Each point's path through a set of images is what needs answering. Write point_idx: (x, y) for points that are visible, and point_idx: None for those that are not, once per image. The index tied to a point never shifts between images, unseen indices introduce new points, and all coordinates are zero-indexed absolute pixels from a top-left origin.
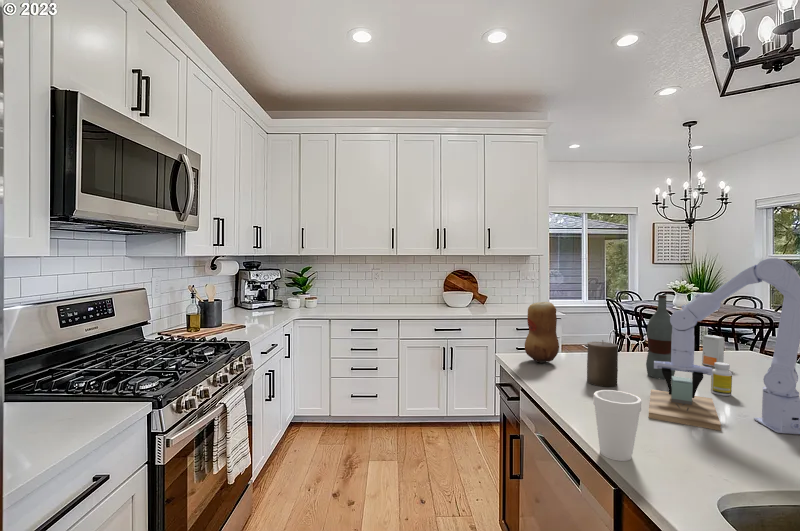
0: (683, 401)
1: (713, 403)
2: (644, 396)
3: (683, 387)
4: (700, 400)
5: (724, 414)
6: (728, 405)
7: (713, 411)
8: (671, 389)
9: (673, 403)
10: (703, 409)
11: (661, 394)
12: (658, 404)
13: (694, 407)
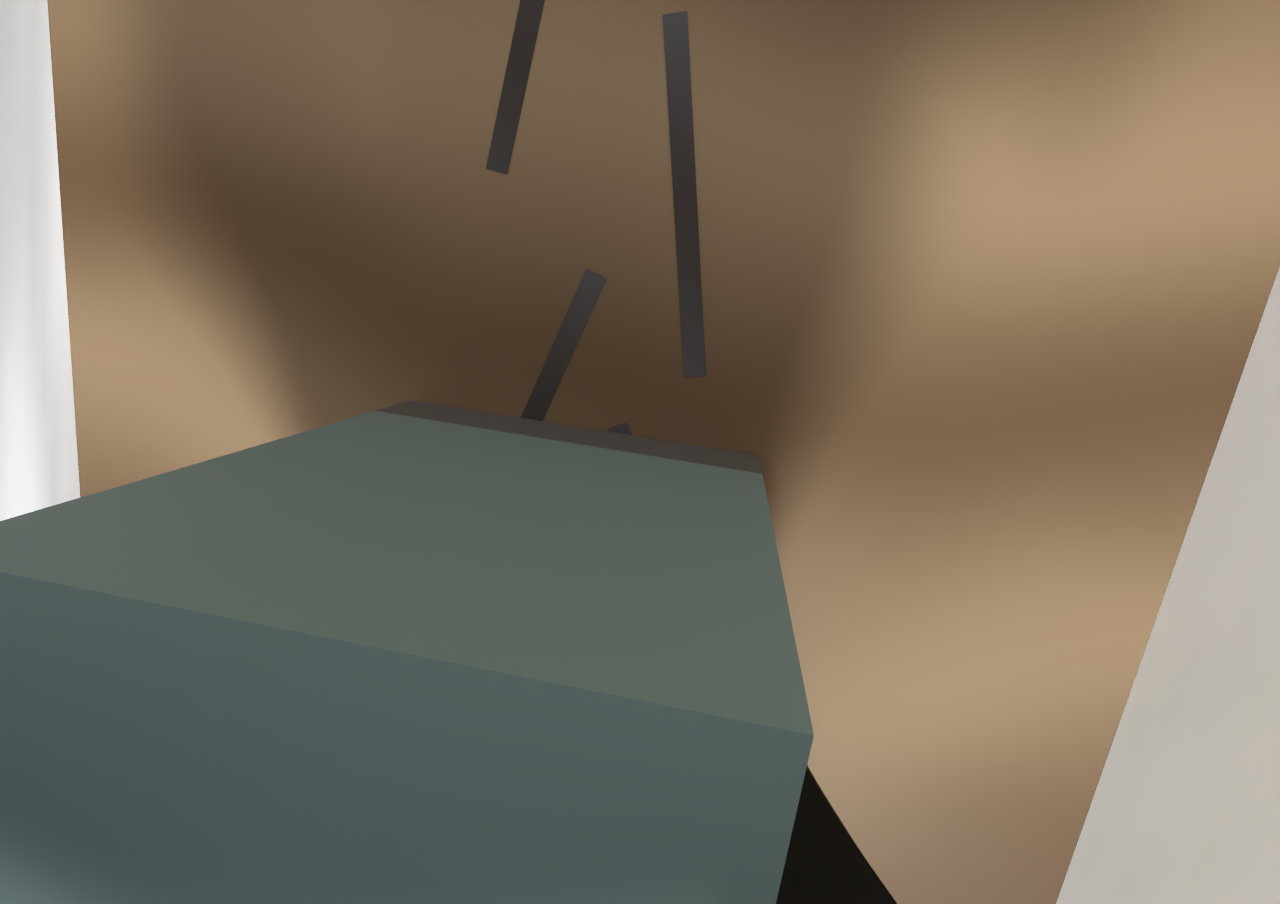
0: (538, 428)
1: None
2: (1100, 872)
3: (389, 544)
4: None
5: (50, 385)
6: None
7: (101, 146)
8: None
9: (742, 355)
10: (247, 185)
11: None
12: (1115, 105)
13: (386, 251)
